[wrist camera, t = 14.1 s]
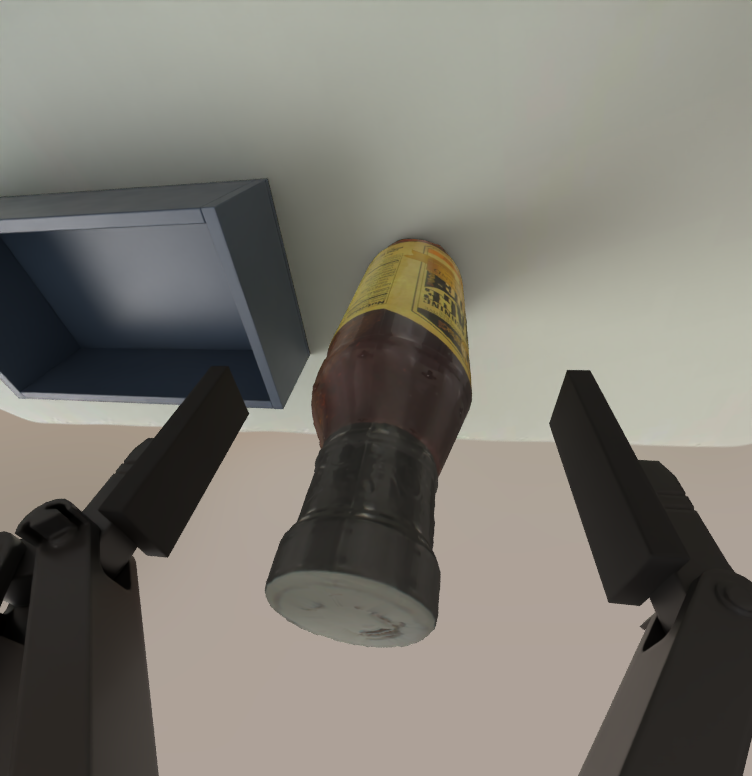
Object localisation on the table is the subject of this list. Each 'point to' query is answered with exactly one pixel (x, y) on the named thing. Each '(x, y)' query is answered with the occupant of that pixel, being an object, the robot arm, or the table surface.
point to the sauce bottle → (380, 456)
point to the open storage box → (147, 294)
